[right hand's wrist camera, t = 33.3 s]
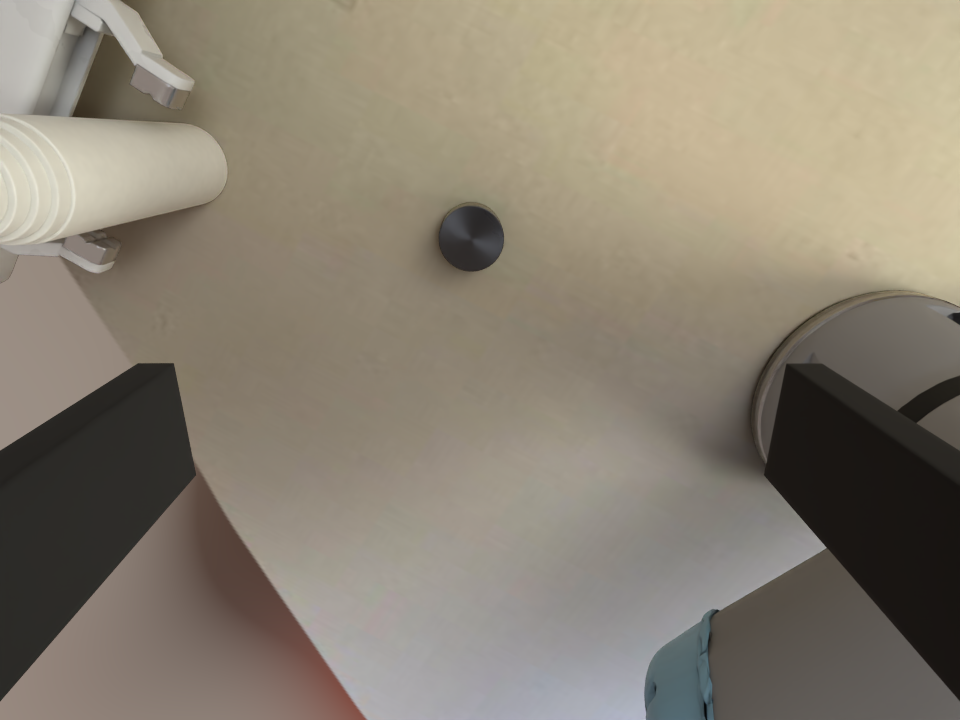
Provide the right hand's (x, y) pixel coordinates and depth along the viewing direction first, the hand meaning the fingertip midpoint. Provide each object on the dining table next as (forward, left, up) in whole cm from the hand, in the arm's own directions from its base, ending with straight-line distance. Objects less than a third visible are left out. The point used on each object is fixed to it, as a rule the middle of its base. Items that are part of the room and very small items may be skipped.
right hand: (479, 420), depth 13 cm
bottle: (+13, -11, -24) cm, 29 cm away
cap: (0, 0, -22) cm, 22 cm away
